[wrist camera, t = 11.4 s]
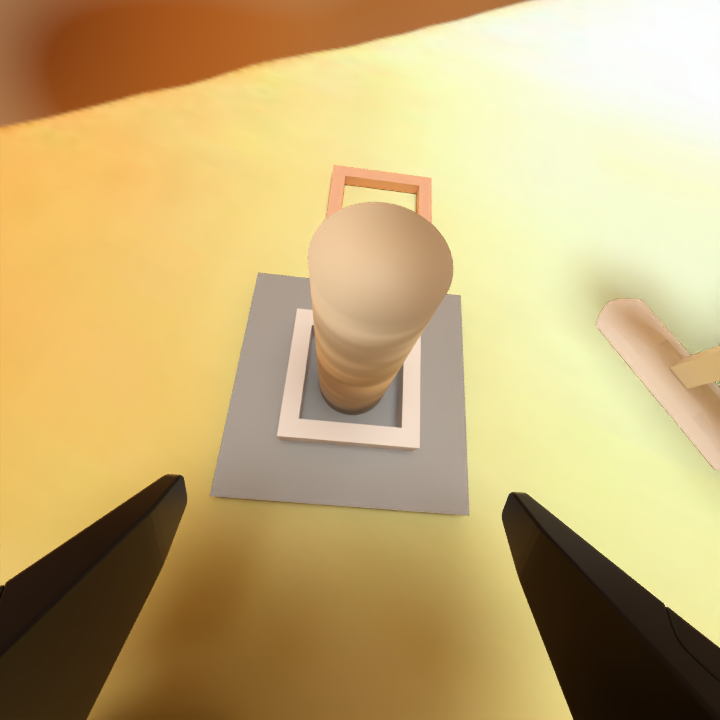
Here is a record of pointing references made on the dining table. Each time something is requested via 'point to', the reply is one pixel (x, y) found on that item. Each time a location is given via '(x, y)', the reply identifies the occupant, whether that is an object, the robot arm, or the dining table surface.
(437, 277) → the birch pin
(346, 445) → the board
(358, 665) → the dining table surface
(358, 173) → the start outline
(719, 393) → the heart sculpture
